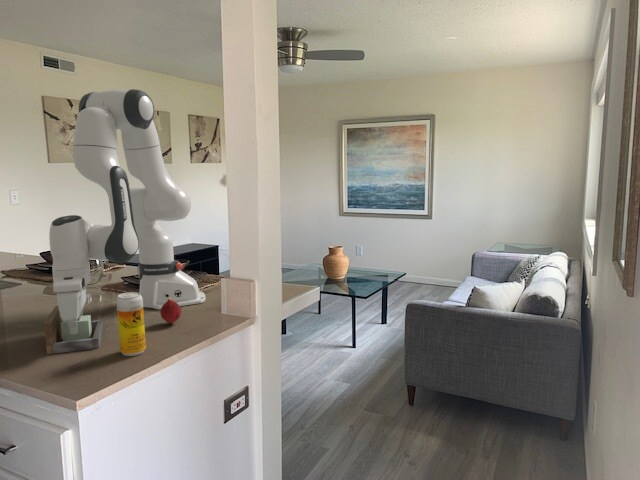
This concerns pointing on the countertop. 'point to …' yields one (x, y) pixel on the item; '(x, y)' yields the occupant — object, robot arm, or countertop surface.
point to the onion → (170, 311)
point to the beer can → (131, 323)
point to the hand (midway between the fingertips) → (76, 327)
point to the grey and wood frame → (55, 334)
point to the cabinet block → (83, 329)
